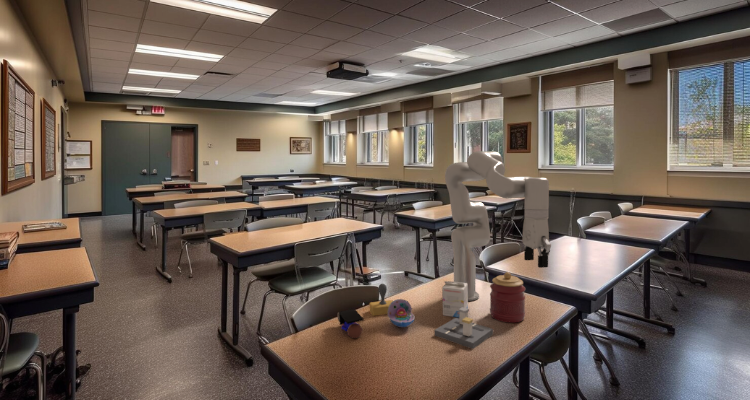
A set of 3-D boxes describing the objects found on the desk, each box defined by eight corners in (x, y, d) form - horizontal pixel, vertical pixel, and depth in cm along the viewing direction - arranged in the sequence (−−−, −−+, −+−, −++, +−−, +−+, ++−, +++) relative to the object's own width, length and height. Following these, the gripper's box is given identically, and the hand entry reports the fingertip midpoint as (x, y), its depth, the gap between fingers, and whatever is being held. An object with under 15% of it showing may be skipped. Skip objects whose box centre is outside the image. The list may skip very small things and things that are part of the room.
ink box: (468, 310, 157) (468, 278, 155) (464, 318, 149) (464, 285, 148) (447, 308, 160) (447, 276, 159) (442, 315, 153) (442, 282, 152)
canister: (482, 314, 153) (483, 270, 151) (506, 307, 159) (506, 266, 157) (507, 326, 142) (508, 279, 140) (532, 318, 148) (533, 273, 146)
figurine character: (336, 329, 146) (347, 342, 132) (335, 309, 146) (346, 319, 132) (353, 326, 148) (366, 338, 134) (352, 306, 148) (365, 316, 134)
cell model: (395, 334, 137) (394, 308, 136) (383, 321, 149) (383, 297, 148) (420, 330, 140) (420, 304, 139) (407, 317, 152) (407, 293, 151)
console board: (434, 335, 136) (434, 329, 135) (455, 322, 146) (455, 317, 145) (473, 349, 125) (473, 342, 125) (492, 334, 135) (493, 328, 135)
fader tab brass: (462, 334, 130) (462, 319, 130) (466, 332, 132) (466, 317, 132) (469, 336, 128) (469, 321, 128) (472, 334, 130) (473, 319, 130)
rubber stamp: (392, 308, 162) (392, 280, 160) (396, 313, 156) (396, 284, 155) (369, 311, 159) (368, 282, 158) (372, 316, 154) (372, 287, 152)
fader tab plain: (458, 323, 139) (458, 309, 139) (462, 321, 141) (462, 307, 140) (465, 325, 137) (465, 311, 137) (468, 323, 139) (468, 308, 139)
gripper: (514, 211, 139) (514, 258, 141) (538, 217, 122) (537, 270, 124) (534, 210, 140) (534, 257, 141) (561, 217, 123) (560, 269, 124)
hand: (535, 263), depth 132 cm, fingers open, 9 cm apart
